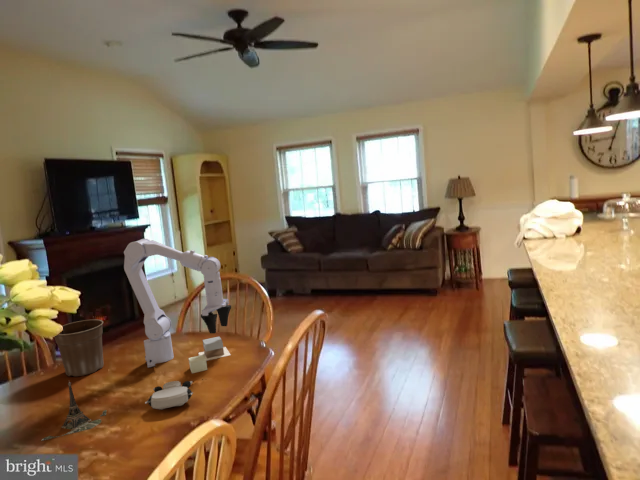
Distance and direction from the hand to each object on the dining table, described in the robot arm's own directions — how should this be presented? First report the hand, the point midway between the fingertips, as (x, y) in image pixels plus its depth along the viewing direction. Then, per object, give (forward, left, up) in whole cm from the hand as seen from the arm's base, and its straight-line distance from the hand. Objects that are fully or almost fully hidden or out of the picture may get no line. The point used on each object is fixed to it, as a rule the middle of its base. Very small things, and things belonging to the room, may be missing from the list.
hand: (218, 329), depth 165 cm
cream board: (-2, +1, -10) cm, 10 cm away
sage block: (-9, -10, -10) cm, 17 cm away
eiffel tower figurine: (-44, -27, -11) cm, 53 cm away
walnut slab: (-2, +1, -9) cm, 9 cm away
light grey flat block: (-2, +1, -6) cm, 7 cm away
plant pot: (-45, +17, -10) cm, 50 cm away
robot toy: (-19, -28, -10) cm, 35 cm away
